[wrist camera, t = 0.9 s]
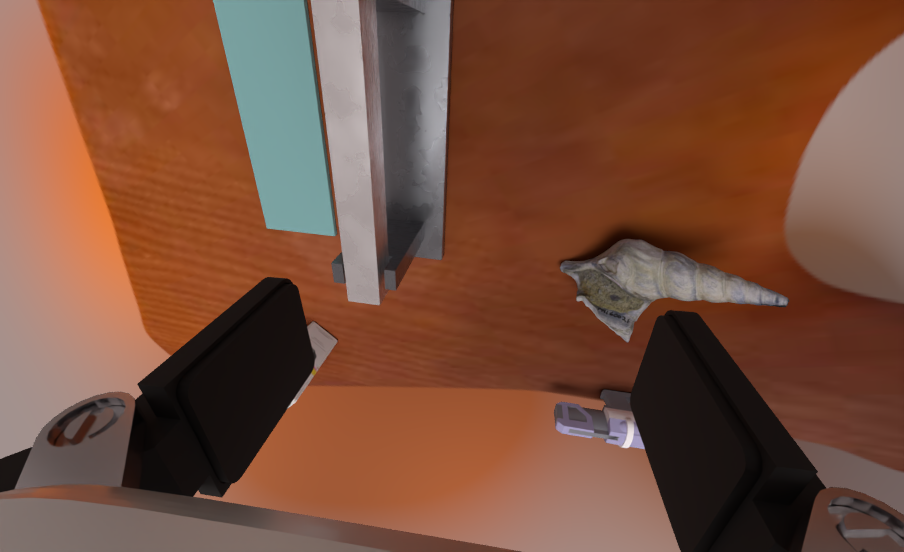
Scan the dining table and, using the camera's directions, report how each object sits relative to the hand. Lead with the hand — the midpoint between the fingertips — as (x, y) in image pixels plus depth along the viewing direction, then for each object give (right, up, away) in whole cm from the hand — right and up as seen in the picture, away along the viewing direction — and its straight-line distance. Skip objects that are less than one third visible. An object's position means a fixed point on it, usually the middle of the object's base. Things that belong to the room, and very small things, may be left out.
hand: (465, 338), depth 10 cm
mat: (-18, +20, +28) cm, 39 cm away
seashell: (+20, +3, +31) cm, 38 cm away
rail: (-7, +12, +19) cm, 24 cm away
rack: (-6, +17, +28) cm, 33 cm away
